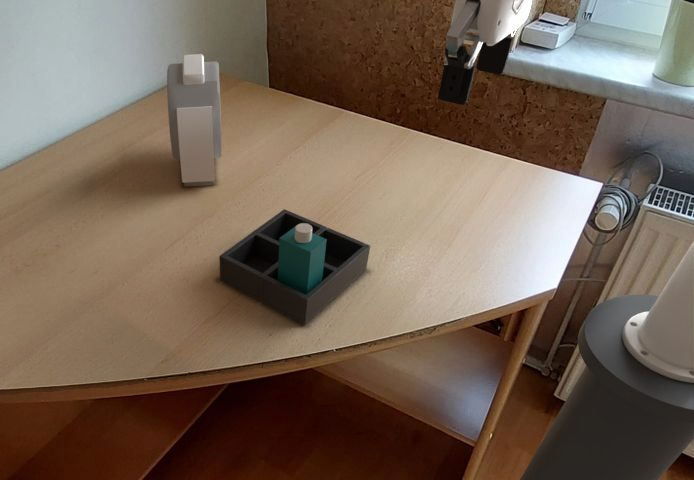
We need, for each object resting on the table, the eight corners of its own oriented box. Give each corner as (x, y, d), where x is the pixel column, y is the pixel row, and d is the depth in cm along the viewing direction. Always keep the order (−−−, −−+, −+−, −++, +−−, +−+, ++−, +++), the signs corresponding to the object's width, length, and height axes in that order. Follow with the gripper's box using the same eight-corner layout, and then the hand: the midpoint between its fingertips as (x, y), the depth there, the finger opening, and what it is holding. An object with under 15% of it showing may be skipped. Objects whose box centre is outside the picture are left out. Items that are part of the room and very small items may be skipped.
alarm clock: (223, 195, 108) (219, 79, 94) (174, 198, 109) (164, 82, 94) (220, 146, 121) (217, 37, 107) (177, 148, 121) (168, 40, 107)
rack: (366, 270, 92) (370, 245, 88) (304, 325, 84) (307, 300, 81) (282, 233, 100) (284, 208, 96) (220, 280, 92) (219, 255, 89)
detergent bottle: (320, 294, 87) (328, 228, 79) (305, 307, 86) (311, 241, 78) (291, 280, 90) (296, 214, 82) (276, 293, 88) (279, 227, 80)
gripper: (516, -69, 53) (469, 122, 65) (587, -109, 62) (533, 67, 74) (435, -76, 57) (404, 106, 69) (511, -112, 66) (472, 55, 78)
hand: (471, 86), depth 72 cm, fingers open, 9 cm apart
